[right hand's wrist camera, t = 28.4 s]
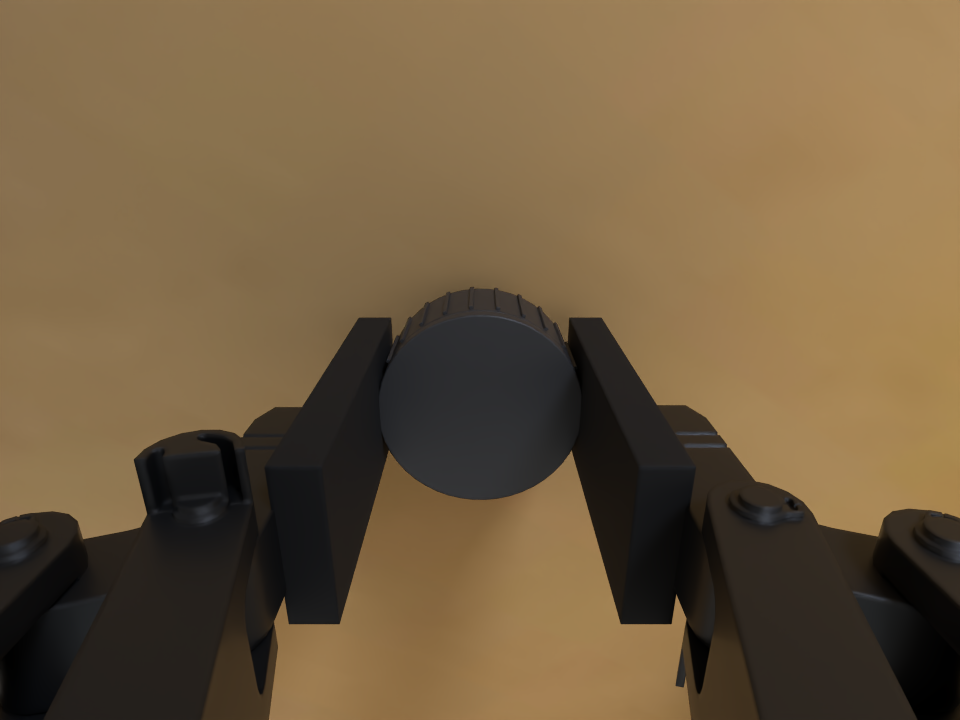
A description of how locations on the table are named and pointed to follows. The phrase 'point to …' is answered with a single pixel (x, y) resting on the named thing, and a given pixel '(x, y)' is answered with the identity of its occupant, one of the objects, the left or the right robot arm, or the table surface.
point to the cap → (480, 395)
